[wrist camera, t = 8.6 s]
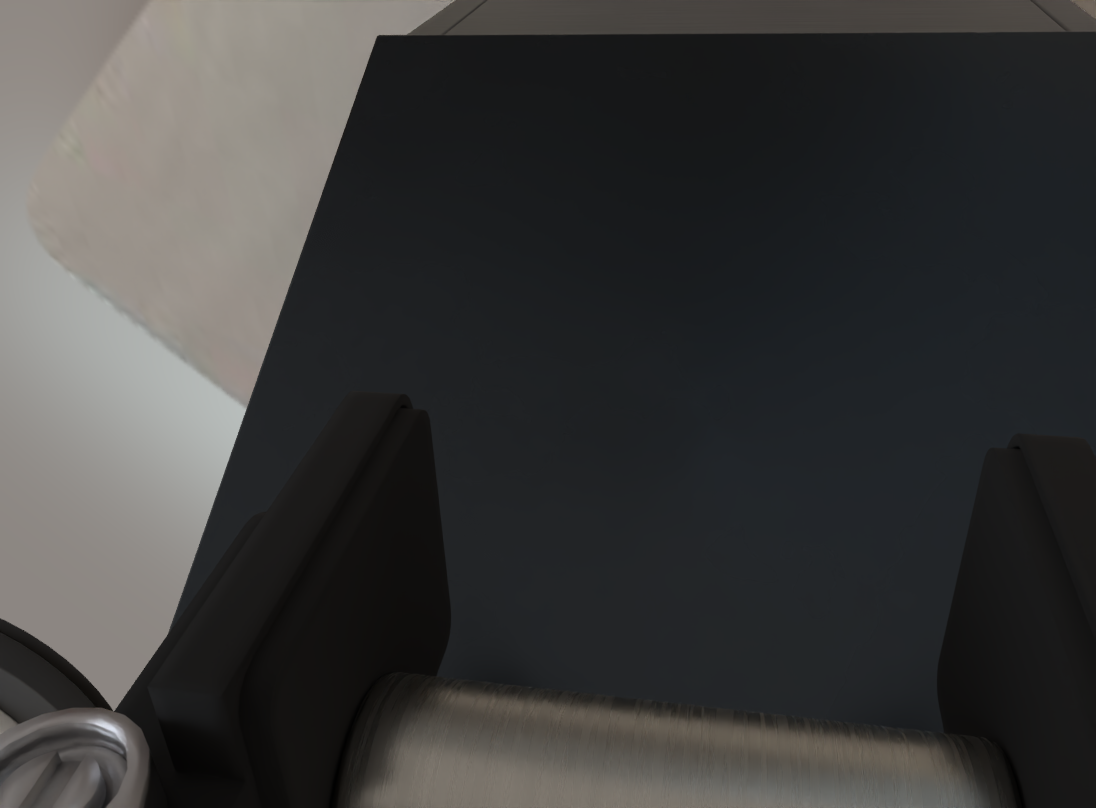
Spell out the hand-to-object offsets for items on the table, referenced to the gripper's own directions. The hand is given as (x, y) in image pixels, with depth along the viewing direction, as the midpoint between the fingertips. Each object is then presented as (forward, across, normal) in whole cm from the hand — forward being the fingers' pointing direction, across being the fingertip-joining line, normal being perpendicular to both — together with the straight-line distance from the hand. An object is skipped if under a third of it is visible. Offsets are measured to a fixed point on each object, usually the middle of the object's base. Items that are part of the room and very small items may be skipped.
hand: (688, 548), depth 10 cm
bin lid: (+5, 0, +2) cm, 5 cm away
